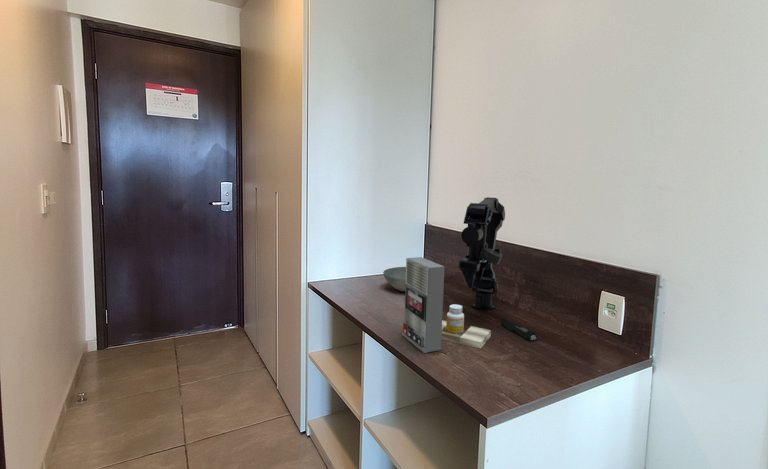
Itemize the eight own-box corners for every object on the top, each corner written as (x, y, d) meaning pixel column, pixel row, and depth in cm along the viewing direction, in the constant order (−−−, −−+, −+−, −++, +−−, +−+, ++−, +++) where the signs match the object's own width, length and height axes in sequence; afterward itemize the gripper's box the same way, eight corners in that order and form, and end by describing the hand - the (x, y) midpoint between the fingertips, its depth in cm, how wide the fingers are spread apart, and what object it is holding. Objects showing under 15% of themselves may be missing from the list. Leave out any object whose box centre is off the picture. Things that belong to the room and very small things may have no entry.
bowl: (432, 297, 171) (433, 278, 169) (382, 295, 171) (382, 277, 170) (428, 283, 192) (428, 266, 190) (383, 282, 192) (383, 265, 191)
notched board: (440, 325, 139) (440, 319, 139) (490, 336, 131) (491, 330, 130) (427, 336, 129) (427, 330, 129) (480, 348, 121) (481, 342, 121)
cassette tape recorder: (401, 336, 129) (403, 258, 125) (418, 333, 132) (421, 257, 128) (423, 354, 117) (426, 268, 113) (441, 350, 119) (445, 266, 115)
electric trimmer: (506, 324, 142) (507, 316, 142) (538, 341, 128) (539, 331, 128) (497, 326, 141) (498, 317, 141) (529, 343, 127) (529, 333, 126)
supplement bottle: (448, 331, 134) (450, 302, 132) (464, 334, 132) (466, 305, 130) (443, 337, 129) (445, 307, 128) (460, 340, 127) (462, 310, 125)
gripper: (493, 246, 128) (490, 295, 130) (507, 239, 144) (504, 282, 146) (459, 243, 133) (456, 289, 135) (476, 236, 149) (473, 277, 151)
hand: (474, 284), depth 142 cm, fingers open, 9 cm apart
